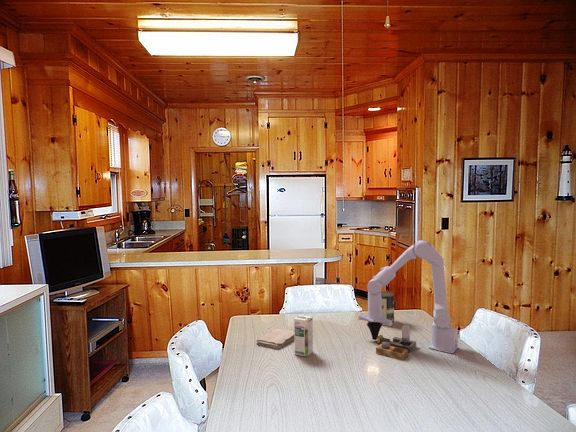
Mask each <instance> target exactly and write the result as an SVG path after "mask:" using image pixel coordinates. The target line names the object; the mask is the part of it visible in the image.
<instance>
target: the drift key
mask: <svg viewBox="0 0 576 432" xmlns="http://www.w3.org/2000/svg"><path fill="white" fill-rule="evenodd" d="M389 341H391V339H390V338H386V337H384V336H383V334H380V335H379V334H378V337H377V339H376V343H377V344H379V345H380V344H382V342H389Z"/></svg>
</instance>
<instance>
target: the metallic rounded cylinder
mask: <svg viewBox="0 0 576 432" xmlns="http://www.w3.org/2000/svg"><path fill="white" fill-rule="evenodd" d="M410 334H411V326H410V325H405V324H404V325H402V326H401V338H402V344H403V345H408V346H410V340H411V335H410Z"/></svg>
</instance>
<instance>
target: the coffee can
mask: <svg viewBox="0 0 576 432" xmlns="http://www.w3.org/2000/svg"><path fill="white" fill-rule="evenodd" d="M381 297H382V317H383V318H386V319H389V320H392V325H394V324H395V293H393V292H390V291H382V290H381ZM392 325H391V326H392ZM383 326H384V327H386V326H387V327H388V325H385V324H383V325H382V327H383Z"/></svg>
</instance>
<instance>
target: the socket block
mask: <svg viewBox="0 0 576 432" xmlns="http://www.w3.org/2000/svg"><path fill="white" fill-rule="evenodd" d="M389 343H390V346H393V347H397V348H401V349H405V350H408V354H410V353H411V352H413V350H414V349H416V347H417V341H416V340H411V339H410V346H408V345H403V344H402V337H397V336H394V337H393V338H392V340H390V341H389Z"/></svg>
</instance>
